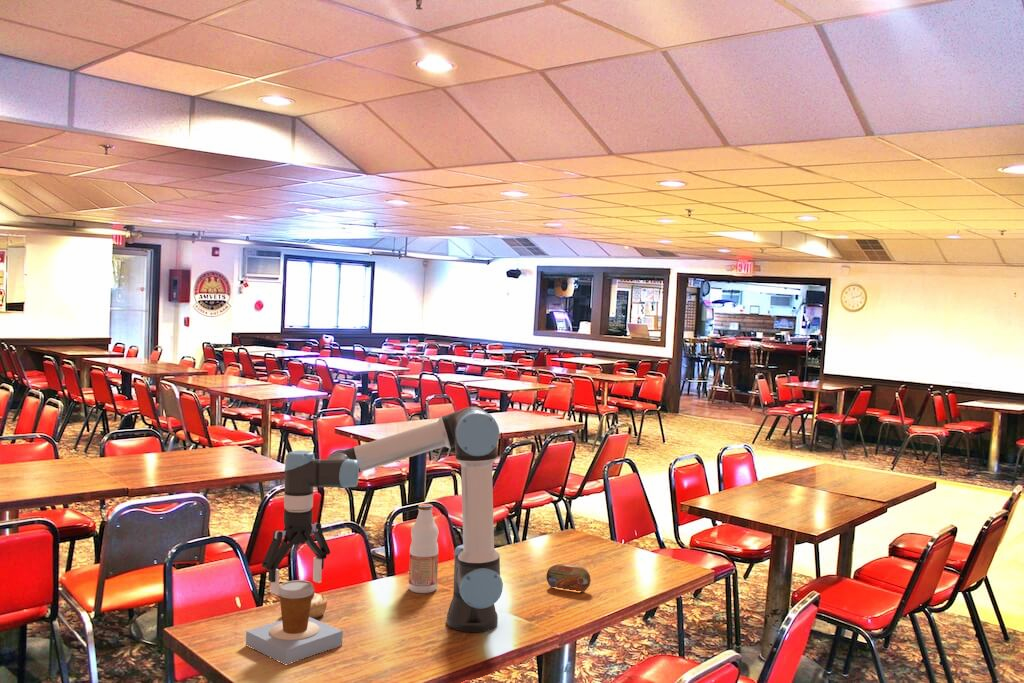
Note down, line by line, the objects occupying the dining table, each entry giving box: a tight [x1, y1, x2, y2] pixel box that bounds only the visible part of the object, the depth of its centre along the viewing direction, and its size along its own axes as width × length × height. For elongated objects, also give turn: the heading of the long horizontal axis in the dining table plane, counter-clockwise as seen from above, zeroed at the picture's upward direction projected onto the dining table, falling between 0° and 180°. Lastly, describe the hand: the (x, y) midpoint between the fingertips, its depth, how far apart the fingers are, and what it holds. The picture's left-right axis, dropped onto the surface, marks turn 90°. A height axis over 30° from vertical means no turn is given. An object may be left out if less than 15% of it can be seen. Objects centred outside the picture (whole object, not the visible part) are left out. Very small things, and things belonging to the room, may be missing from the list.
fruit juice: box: [408, 503, 439, 594], centre depth 266 cm, size 9×9×28 cm
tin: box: [546, 563, 592, 593], centre depth 270 cm, size 15×3×8 cm, turn 68°
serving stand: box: [245, 617, 344, 665], centre depth 216 cm, size 18×18×4 cm
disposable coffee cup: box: [278, 579, 315, 634], centre depth 216 cm, size 10×10×12 cm
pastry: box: [309, 592, 328, 619], centre depth 240 cm, size 12×12×9 cm
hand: (296, 587), depth 216 cm, fingers open, 13 cm apart
